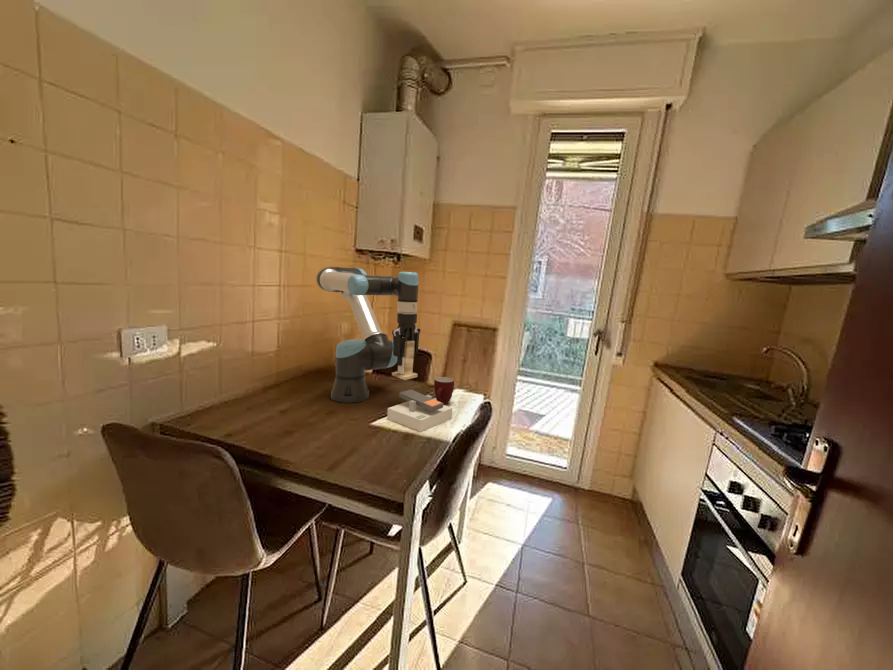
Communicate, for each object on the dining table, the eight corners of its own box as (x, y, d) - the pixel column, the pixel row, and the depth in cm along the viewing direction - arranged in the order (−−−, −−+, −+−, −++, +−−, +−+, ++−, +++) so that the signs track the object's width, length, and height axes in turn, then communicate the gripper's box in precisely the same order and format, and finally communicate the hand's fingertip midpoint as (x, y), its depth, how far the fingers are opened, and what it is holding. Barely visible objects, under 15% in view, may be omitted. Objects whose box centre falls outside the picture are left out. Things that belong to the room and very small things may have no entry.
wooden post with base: (391, 375, 147) (394, 339, 144) (404, 372, 152) (407, 338, 150) (404, 380, 143) (407, 343, 140) (417, 376, 148) (420, 341, 146)
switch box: (387, 418, 134) (387, 398, 133) (419, 407, 148) (420, 388, 147) (420, 431, 125) (421, 410, 124) (451, 418, 138) (453, 398, 137)
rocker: (398, 396, 138) (399, 392, 137) (410, 393, 142) (410, 388, 142) (432, 411, 128) (432, 407, 128) (443, 407, 133) (443, 403, 133)
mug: (449, 409, 147) (451, 385, 145) (429, 407, 149) (430, 382, 147) (454, 401, 157) (455, 378, 156) (435, 399, 159) (436, 376, 157)
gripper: (398, 314, 135) (396, 378, 138) (429, 312, 148) (426, 370, 152) (383, 312, 139) (382, 374, 143) (415, 311, 153) (413, 367, 156)
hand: (405, 372), depth 147 cm, fingers closed on wooden post with base, 4 cm apart
